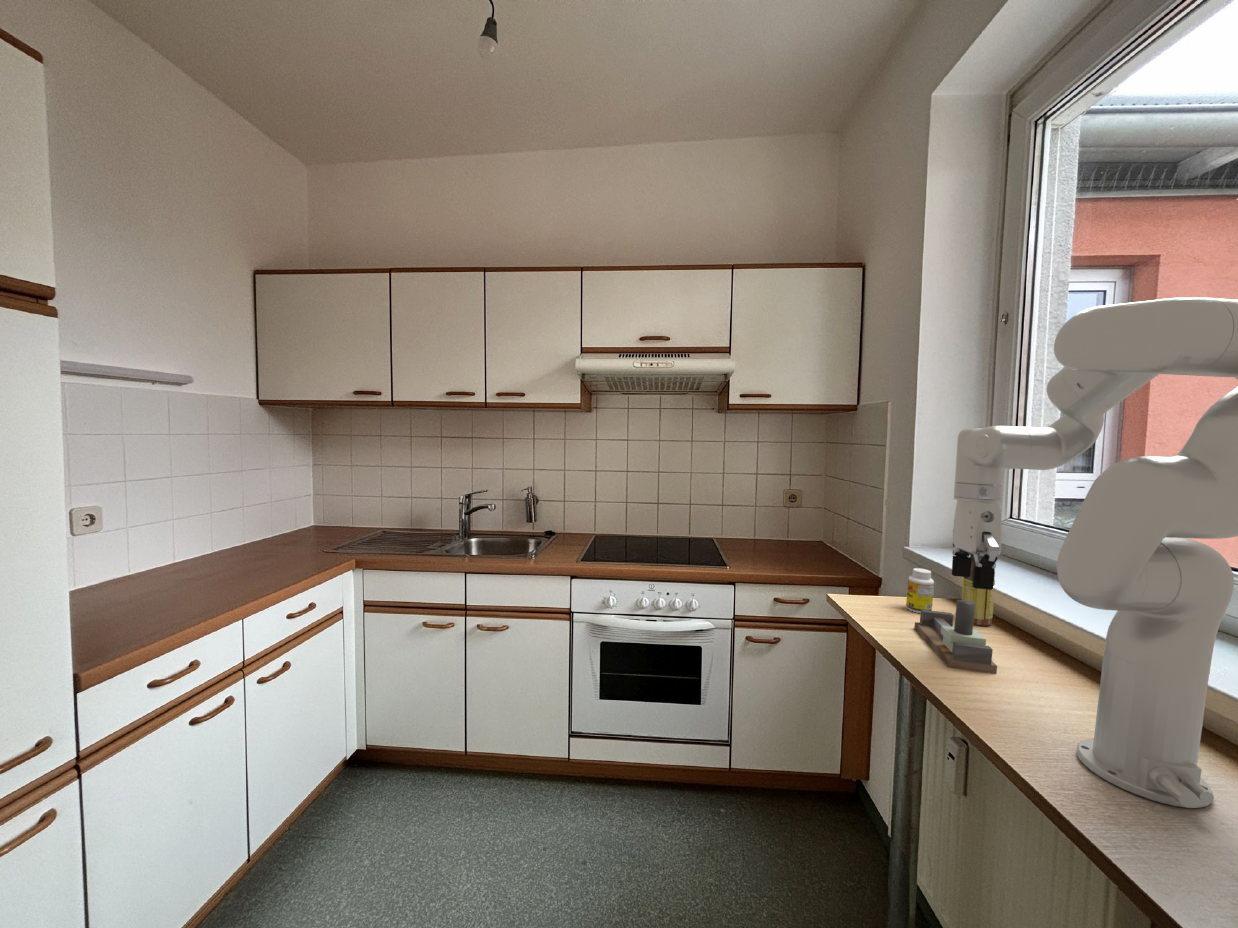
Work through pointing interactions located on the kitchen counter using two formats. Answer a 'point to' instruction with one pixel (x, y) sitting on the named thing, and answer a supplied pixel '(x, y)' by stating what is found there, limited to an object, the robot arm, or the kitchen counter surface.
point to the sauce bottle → (978, 598)
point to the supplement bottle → (920, 591)
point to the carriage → (962, 627)
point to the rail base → (962, 653)
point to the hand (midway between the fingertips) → (971, 582)
